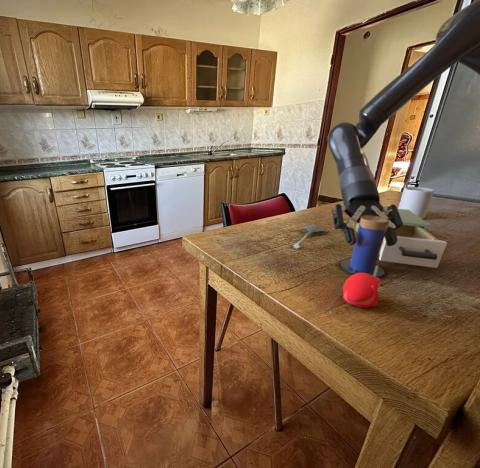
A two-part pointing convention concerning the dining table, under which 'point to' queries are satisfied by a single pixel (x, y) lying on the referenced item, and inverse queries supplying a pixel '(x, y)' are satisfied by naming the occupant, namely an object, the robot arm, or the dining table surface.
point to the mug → (416, 200)
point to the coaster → (377, 271)
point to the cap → (361, 290)
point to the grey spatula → (311, 229)
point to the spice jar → (368, 242)
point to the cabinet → (409, 219)
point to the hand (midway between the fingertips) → (372, 244)
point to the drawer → (413, 248)
